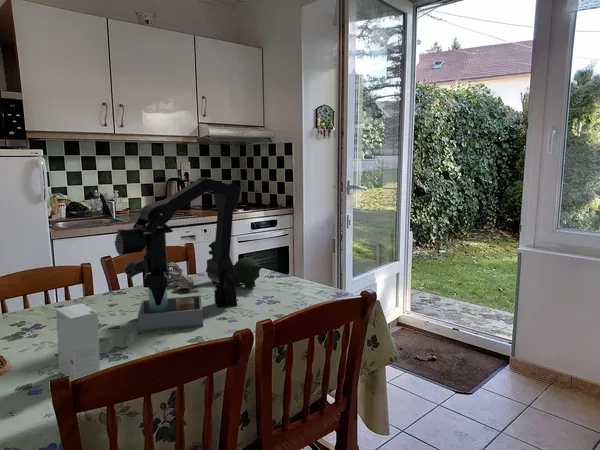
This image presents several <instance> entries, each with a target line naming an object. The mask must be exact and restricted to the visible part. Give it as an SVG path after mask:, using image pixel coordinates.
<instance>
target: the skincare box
mask: <svg viewBox="0 0 600 450" xmlns="http://www.w3.org/2000/svg"><path fill="white" fill-rule="evenodd" d="M55 310H56V313H55V314H56V326H57V329H56V330H57V348H58V350H57V352H58V372H59V373H60V374H62V375H63V376H65V377H66V375H69V376H70V378H71V380H74V379H77V378H79V377H82V376H85V375H88V374H91V373H94V372H97V371H100V372H101V365H100V362H101V361H100V338H99V336H100V334H99V312H98V311H96V310H94V309H92V308H91V306H88V305H85V304H83V303H82V302H81V303H77V304H72V305H68V306H63V307H58V308H56V309H55ZM71 380H70V381H71Z"/></svg>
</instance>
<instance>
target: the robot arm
mask: <svg viewBox="0 0 600 450" xmlns="http://www.w3.org/2000/svg"><path fill="white" fill-rule="evenodd" d="M205 193H207V194H209V195H213V198H214V199H213V201H214V203H215V207H216V209H217V215H216V216H217V217H216V228H215V240H214V241H215V251H214V256H213V257H212V256H211V258H210V259H211V260H209V259H207V260H206V269H205V273H207V277H208V279H209V280H211V283H212V285H214V286H215V289H214V291H213V293H214V304H215V305H216V307H217V308H225V307H228V308H229V307H236V306H238V302H237V288H239V287H240V284H241V283H240V282H241V281H240V279H238V278H237V277H236V276H235V275H234V273H233V265H234V264H233V262H232V259H231V255H230V254H231V253H230V252H231V243H232V231H233V230H232V229H233V218H234V217H233V216H234V211H235V209H236V208H237V206H238V204H239V201H240V197H241V188H240V187H239V186H238V184H236V183H234V182H222V181H219V180H216V179H212V178H211V177H201V176H200V177H198V178H197V179H196V180H195V181H193V182H192V183H190V184H188V185H187V186H185V187H183V188H182V189H180V190H179V191H177V192H175V193H173V194H172V195H170V196H169V197H167V198H165V199H161V200H158V201H154V202H152V203H149V204H146V205H144V206H143V207H142V208H141V209H140V213H139V217H138V219H137V220H136V221H135V223H134V224H133V226H132V228H126V229H125V228H120V229H117V234H116V236H115V240H114V247H115V250H116V253H117V254H118V255H119V256H121V255H128V254H129V255H131V254H134V253H142V252H143V250H144V255H143V257H142V258H138V259H136V260H133V261H132V262H129V263H127V264H125V265H124V268H123V269H124V271H125V272H124V274H125V275H127V278H128V279H130V278H133V277H134V276H136V275H139V274H141V273H143V274H146V275H145V276H144V277H143V280H142V285H143V288H147V289H148V288H150V289H151V291H152V294H153V297H154V300H155V303H156V305H157V306H158V305H160V304H161V301H162V299H163V296H164V293H165V290H166V288H167V289H168V285H169V282H168V276H169V273H164V272H169V263H170V262H168V259H167V257H168V256H167V255H168V251H167V240H166V237H167V235H166V234H168V233H173V229H171V228H170V227H169V225H167V223H168V222H169V221H170V220H171V219H172V218H173V217H174V215H175V213H177V212H178V211H179V210H180V209H181V208H183V207H185V206H186V205H188V204H189V203H192V202H193V201H194V200H196V199H198V198H199V197H200V196H202V195H204V194H205ZM169 277H170V276H169Z"/></svg>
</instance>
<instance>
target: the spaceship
mask: <svg viewBox="0 0 600 450" xmlns="http://www.w3.org/2000/svg"><path fill="white" fill-rule="evenodd" d="M168 263H169V272H164V273H169V276H168V283H172V286H173V287H175V286H177V287H180V288H185V289H188V290H194V287H195V281H194V279H193V277H192V276H190V277H189V276H186V275H185V274H183V271H184V269H182V268H180V266H179V265H178V263H175V262H168ZM171 281H173V282H171Z"/></svg>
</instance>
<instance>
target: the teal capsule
mask: <svg viewBox="0 0 600 450" xmlns="http://www.w3.org/2000/svg"><path fill="white" fill-rule="evenodd" d="M147 289H148V300H149V306H150V311H152V312H161V311H165V310H167V309H168V301H167V298H168V287H167V288H166V290H165V293H164V296H163V299H162V301H161V304H160V305H158V306H157V305H156V303H155V300H154V297H153V294H152V291H151V289H150V288H147Z"/></svg>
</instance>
